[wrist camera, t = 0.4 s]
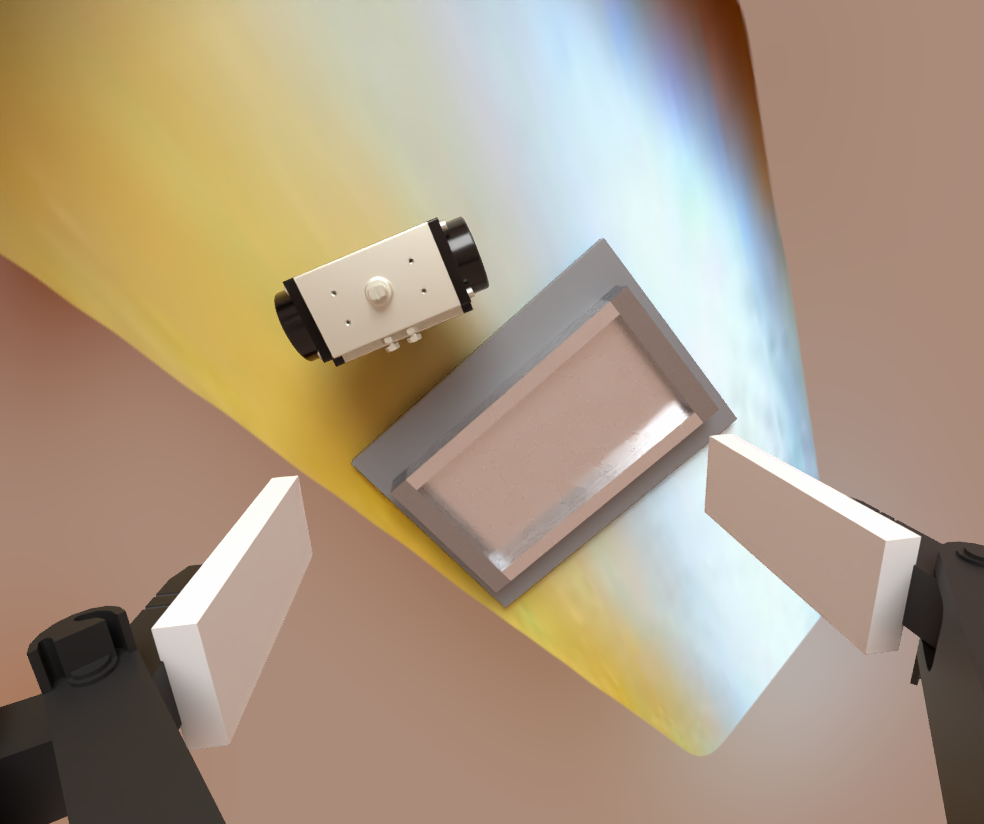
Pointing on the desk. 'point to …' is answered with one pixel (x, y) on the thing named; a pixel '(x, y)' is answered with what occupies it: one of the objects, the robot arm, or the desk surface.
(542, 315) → the mounting board
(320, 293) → the pneumatic valve
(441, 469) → the shallow rectangular tray
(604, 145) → the desk surface
